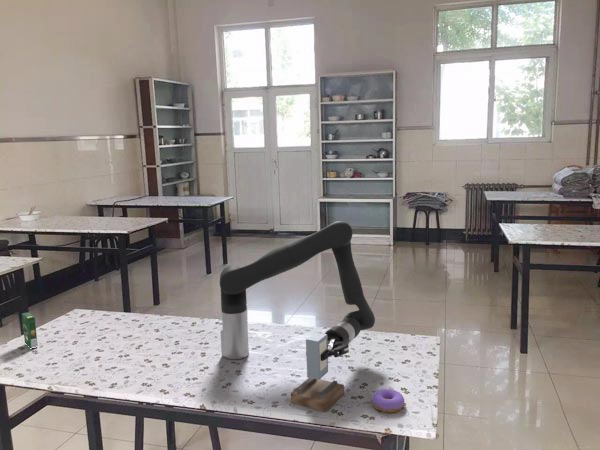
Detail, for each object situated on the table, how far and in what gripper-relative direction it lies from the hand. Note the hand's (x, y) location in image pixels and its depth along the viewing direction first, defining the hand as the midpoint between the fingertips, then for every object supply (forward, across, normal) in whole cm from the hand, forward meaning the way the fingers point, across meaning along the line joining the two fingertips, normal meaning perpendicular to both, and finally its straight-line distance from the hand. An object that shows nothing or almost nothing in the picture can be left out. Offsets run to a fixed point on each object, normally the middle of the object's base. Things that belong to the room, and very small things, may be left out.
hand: (314, 356), depth 150 cm
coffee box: (+14, -121, +14) cm, 123 cm away
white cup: (-40, -59, +14) cm, 72 cm away
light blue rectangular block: (-2, 0, +6) cm, 7 cm away
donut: (-7, +20, +15) cm, 26 cm away
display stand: (-1, 0, +14) cm, 14 cm away
